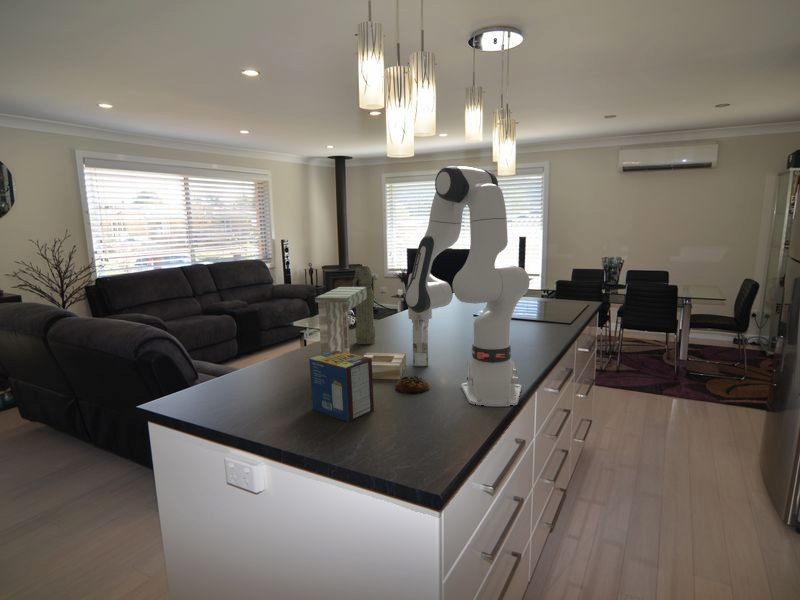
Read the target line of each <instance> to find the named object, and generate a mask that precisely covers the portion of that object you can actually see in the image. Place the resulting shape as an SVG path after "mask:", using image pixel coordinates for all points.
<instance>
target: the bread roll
mask: <svg viewBox="0 0 800 600" xmlns="http://www.w3.org/2000/svg"><path fill="white" fill-rule="evenodd" d="M430 386H431V385H430V383H429V382H428V381H427V380H426V379H425V378H423V377H419V376H416V375H413V376H410V375H408V376H407V375H406V376H403V377H401V378H400V379H398V380H397V382H396V383H395V386H394V388H395V390H396V391H397V392H400V394H401V393H402V394H406V395H407V394H408V395H416V394H417V395H418V394H422V393H425V392H426V391H428V390H429V389H430Z"/></svg>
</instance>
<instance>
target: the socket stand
mask: <svg viewBox="0 0 800 600" xmlns="http://www.w3.org/2000/svg"><path fill="white" fill-rule="evenodd" d="M365 299H367V287H353V286H338V287H336V288H334V289H331V290H329V291H327V292H324V293H323V294H320V295H317V296H316V297H314V302H315V303H318V304H317V305H318V323H319V324H318V325H319V340H320V341H319V342H320V355H322V354H325V353H329V352H332V351H335V350H336V351H340V352H345V353H350V354H351V351H350V335H349V333H350V332H349V311H350V310H352V309H354V308H356V307H355V306H356V305H358V304H359V303H361V302H362V301H364V300H365ZM363 356H364V357H369V358H372V377H373V379H374V380H377V379H378V380H401V378H402V375H403V373H404V371H405V369H406V366H407V365H406V364H407V363H406V362H407V357H406V353H404V352H403V353H399V352H398V353H397V352H366V353H365V354H364V355H363Z"/></svg>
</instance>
